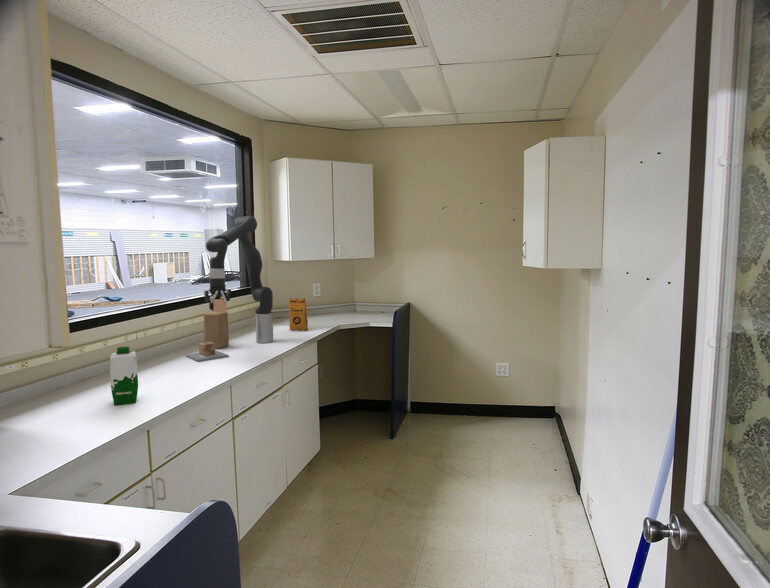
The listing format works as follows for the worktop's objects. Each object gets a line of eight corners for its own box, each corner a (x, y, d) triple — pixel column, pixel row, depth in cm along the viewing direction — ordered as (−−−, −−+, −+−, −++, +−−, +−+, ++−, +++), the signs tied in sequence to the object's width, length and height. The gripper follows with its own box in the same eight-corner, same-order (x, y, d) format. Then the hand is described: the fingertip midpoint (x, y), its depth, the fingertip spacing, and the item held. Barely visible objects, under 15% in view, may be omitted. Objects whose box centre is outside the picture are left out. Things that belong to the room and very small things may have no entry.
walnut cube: (210, 352, 257) (210, 341, 257) (215, 354, 253) (214, 343, 252) (199, 354, 253) (198, 343, 253) (203, 356, 249) (203, 345, 248)
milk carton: (139, 396, 187) (136, 345, 185) (138, 403, 178) (135, 350, 176) (113, 399, 183) (110, 347, 181) (110, 406, 175) (107, 352, 173)
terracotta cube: (221, 310, 257) (220, 299, 257) (226, 311, 253) (226, 300, 252) (210, 311, 253) (209, 300, 253) (215, 312, 249) (214, 300, 248)
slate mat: (215, 352, 264) (215, 350, 264) (228, 356, 253) (228, 354, 253) (185, 356, 254) (185, 354, 254) (198, 361, 242) (197, 359, 242)
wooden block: (220, 349, 271) (219, 313, 269) (204, 348, 273) (202, 313, 271) (229, 345, 281) (228, 311, 279) (213, 345, 283) (212, 311, 281)
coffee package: (305, 331, 326) (304, 299, 323) (287, 331, 327) (286, 298, 325) (309, 329, 335) (309, 297, 333) (292, 328, 337) (291, 297, 335)
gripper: (227, 276, 259) (227, 308, 261) (200, 277, 249) (201, 310, 251) (233, 277, 254) (234, 309, 255) (206, 278, 244) (207, 311, 245)
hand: (217, 309), depth 253 cm, fingers closed on terracotta cube, 6 cm apart
